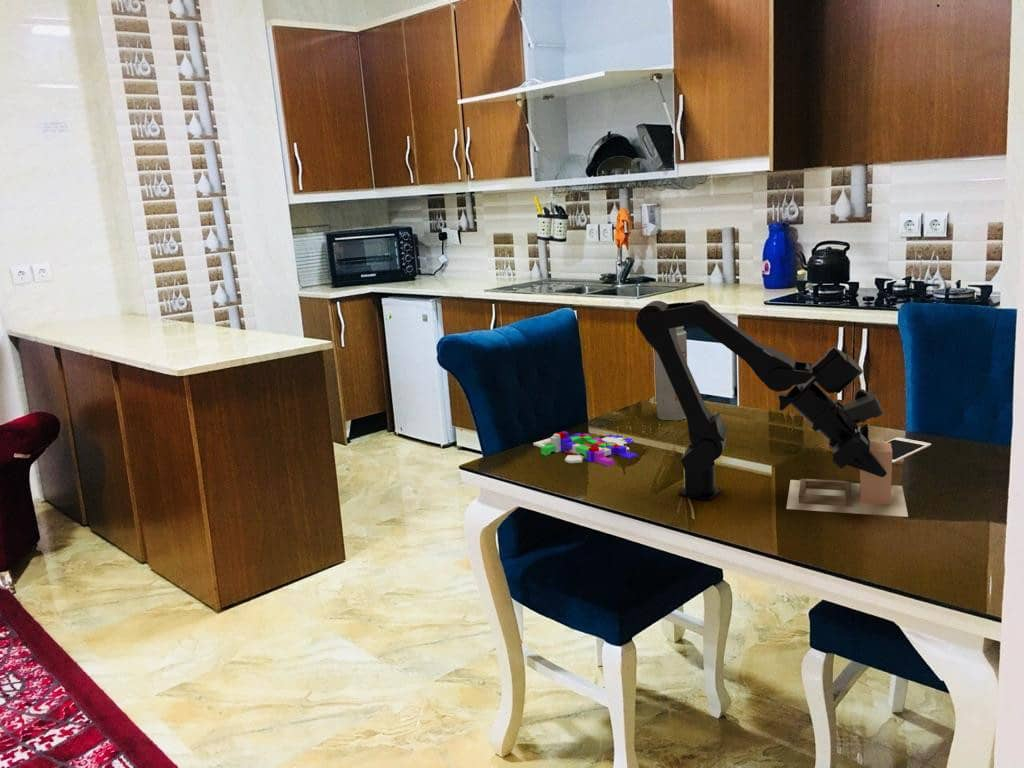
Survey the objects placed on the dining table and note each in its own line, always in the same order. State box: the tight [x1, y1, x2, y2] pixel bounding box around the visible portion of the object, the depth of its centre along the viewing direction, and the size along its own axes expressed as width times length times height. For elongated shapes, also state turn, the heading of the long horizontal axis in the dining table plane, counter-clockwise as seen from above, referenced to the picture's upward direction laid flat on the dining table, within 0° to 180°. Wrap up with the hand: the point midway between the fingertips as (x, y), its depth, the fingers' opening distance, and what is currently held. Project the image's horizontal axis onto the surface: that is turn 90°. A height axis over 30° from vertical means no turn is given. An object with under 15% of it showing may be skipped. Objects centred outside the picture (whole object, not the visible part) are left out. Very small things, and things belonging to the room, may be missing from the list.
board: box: [785, 478, 909, 518], centre depth 154 cm, size 20×15×2 cm
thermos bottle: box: [654, 326, 688, 421], centre depth 213 cm, size 8×8×28 cm
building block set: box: [533, 430, 639, 467], centre depth 196 cm, size 25×20×4 cm
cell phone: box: [884, 437, 932, 464], centre depth 180 cm, size 8×16×1 cm, turn 127°
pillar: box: [859, 441, 893, 505], centre depth 151 cm, size 5×5×10 cm
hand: (884, 470), depth 151 cm, fingers closed on pillar, 5 cm apart
